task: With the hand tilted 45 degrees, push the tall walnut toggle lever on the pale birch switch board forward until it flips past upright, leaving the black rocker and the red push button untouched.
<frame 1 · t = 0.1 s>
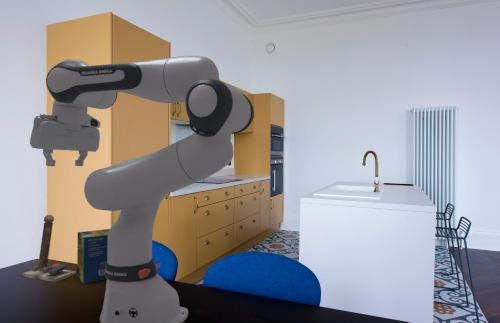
hand: (65, 166, 96), 39 cm above the table, tool pointing down, fingers open, 8 cm apart
board: (49, 275, 119), on the table
rocker: (57, 269, 117), point 3 cm above the table, hinge at -10.0°
protein box: (103, 276, 119), on the table
button: (56, 266, 120), point 3 cm above the table, slide at 0.0 cm
lever: (45, 242, 121), point 11 cm above the table, hinge at -8.0°
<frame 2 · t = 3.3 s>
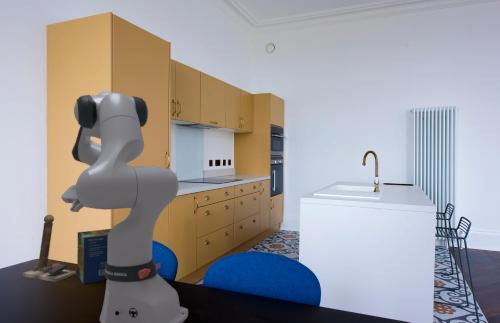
hand: (73, 211, 132), 21 cm above the table, tool tilted 45°, fingers closed
nothing on the table moved.
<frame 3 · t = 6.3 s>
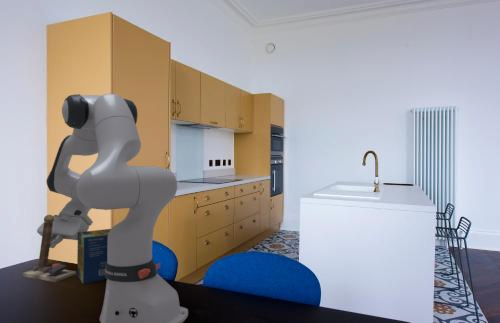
hand: (49, 247, 122), 9 cm above the table, tool tilted 45°, fingers closed, pressing on lever
lever: (45, 242, 121), point 11 cm above the table, hinge at -8.0°, touching gripper
everything else where it was.
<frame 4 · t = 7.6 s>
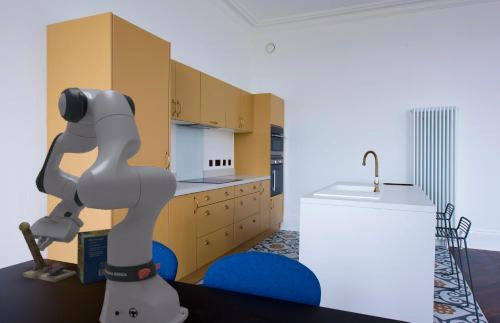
hand: (38, 249, 118), 9 cm above the table, tool tilted 45°, fingers closed, pressing on lever
lever: (33, 246, 117), point 11 cm above the table, hinge at 22.9°, touching gripper
everything else where it was.
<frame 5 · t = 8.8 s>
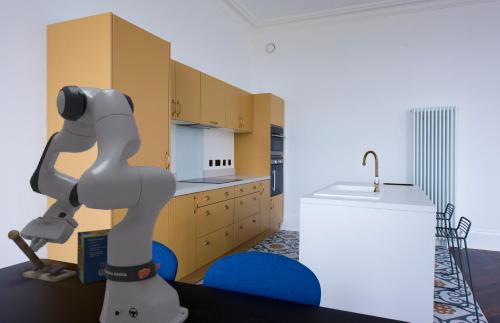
hand: (31, 251, 116), 9 cm above the table, tool tilted 45°, fingers closed, pressing on lever
lever: (27, 251, 115), point 10 cm above the table, hinge at 36.5°, touching gripper
everything else where it was.
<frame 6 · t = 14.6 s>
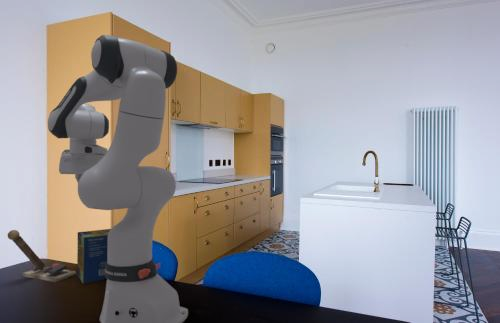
hand: (82, 187, 123), 31 cm above the table, tool pointing down, fingers closed
lever: (27, 251, 115), point 9 cm above the table, hinge at 36.8°
everything else where it was.
at the end: lever at +37° (first picture: -8°); rocker at -10° (first picture: -10°); button slide at 0.0 cm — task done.
